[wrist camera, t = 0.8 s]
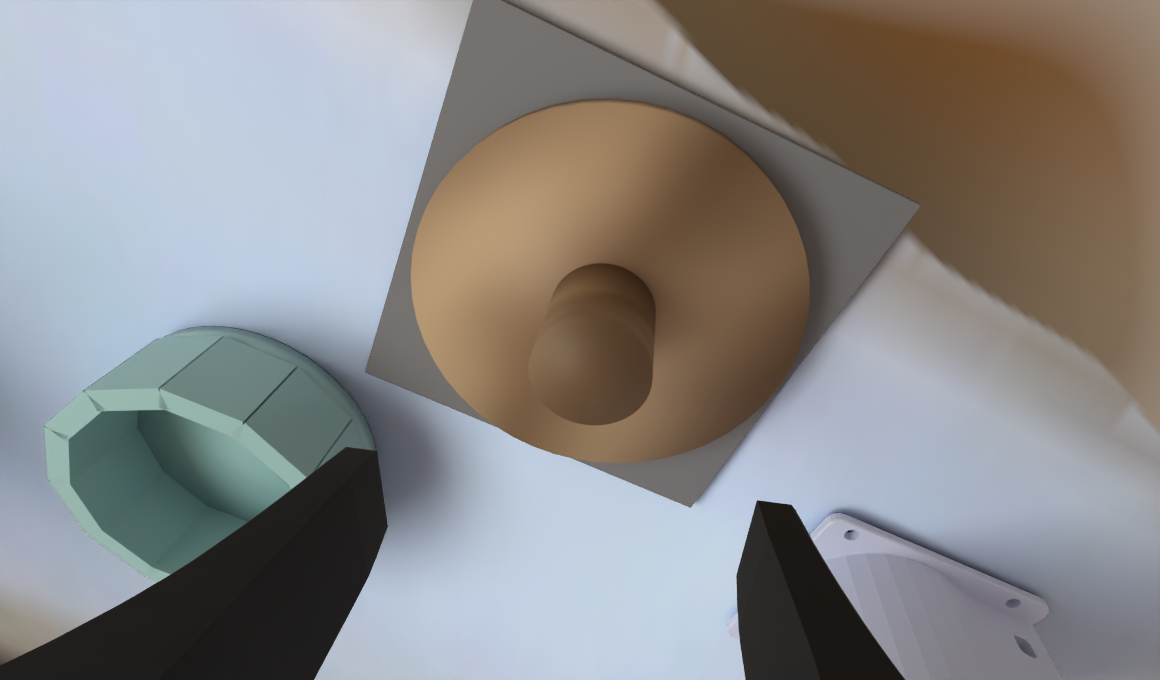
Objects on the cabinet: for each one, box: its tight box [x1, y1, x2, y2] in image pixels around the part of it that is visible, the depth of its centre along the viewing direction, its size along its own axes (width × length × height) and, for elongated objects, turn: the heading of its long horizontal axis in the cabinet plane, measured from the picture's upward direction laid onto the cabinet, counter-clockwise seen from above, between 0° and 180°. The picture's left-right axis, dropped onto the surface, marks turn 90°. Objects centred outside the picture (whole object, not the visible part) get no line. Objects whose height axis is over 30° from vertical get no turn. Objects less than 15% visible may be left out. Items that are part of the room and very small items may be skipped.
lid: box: [411, 98, 810, 463], centre depth 18 cm, size 12×12×4 cm
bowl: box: [44, 326, 376, 582], centre depth 23 cm, size 10×10×4 cm
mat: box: [365, 0, 920, 508], centre depth 20 cm, size 13×13×1 cm
